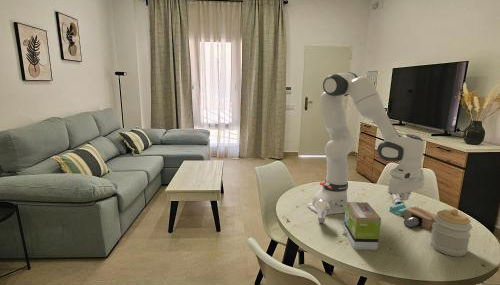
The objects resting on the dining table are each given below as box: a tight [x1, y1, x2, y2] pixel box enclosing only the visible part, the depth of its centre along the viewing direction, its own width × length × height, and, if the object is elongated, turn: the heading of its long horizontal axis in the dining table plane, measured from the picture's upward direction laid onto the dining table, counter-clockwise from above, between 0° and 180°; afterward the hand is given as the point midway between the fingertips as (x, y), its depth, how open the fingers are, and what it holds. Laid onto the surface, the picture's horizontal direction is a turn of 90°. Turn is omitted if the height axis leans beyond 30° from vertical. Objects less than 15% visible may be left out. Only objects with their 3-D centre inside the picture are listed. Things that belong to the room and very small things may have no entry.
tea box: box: [343, 201, 382, 251], centre depth 120 cm, size 15×10×15 cm, turn 178°
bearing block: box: [403, 205, 437, 231], centre depth 137 cm, size 8×12×5 cm, turn 27°
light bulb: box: [315, 199, 330, 224], centre depth 135 cm, size 7×7×12 cm
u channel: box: [389, 202, 413, 217], centre depth 149 cm, size 10×6×3 cm, turn 117°
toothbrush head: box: [387, 189, 403, 205], centre depth 166 cm, size 5×7×25 cm
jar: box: [429, 208, 473, 257], centre depth 115 cm, size 13×13×18 cm
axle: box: [403, 216, 423, 229], centre depth 137 cm, size 16×4×4 cm, turn 117°
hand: (404, 199), depth 128 cm, fingers closed
